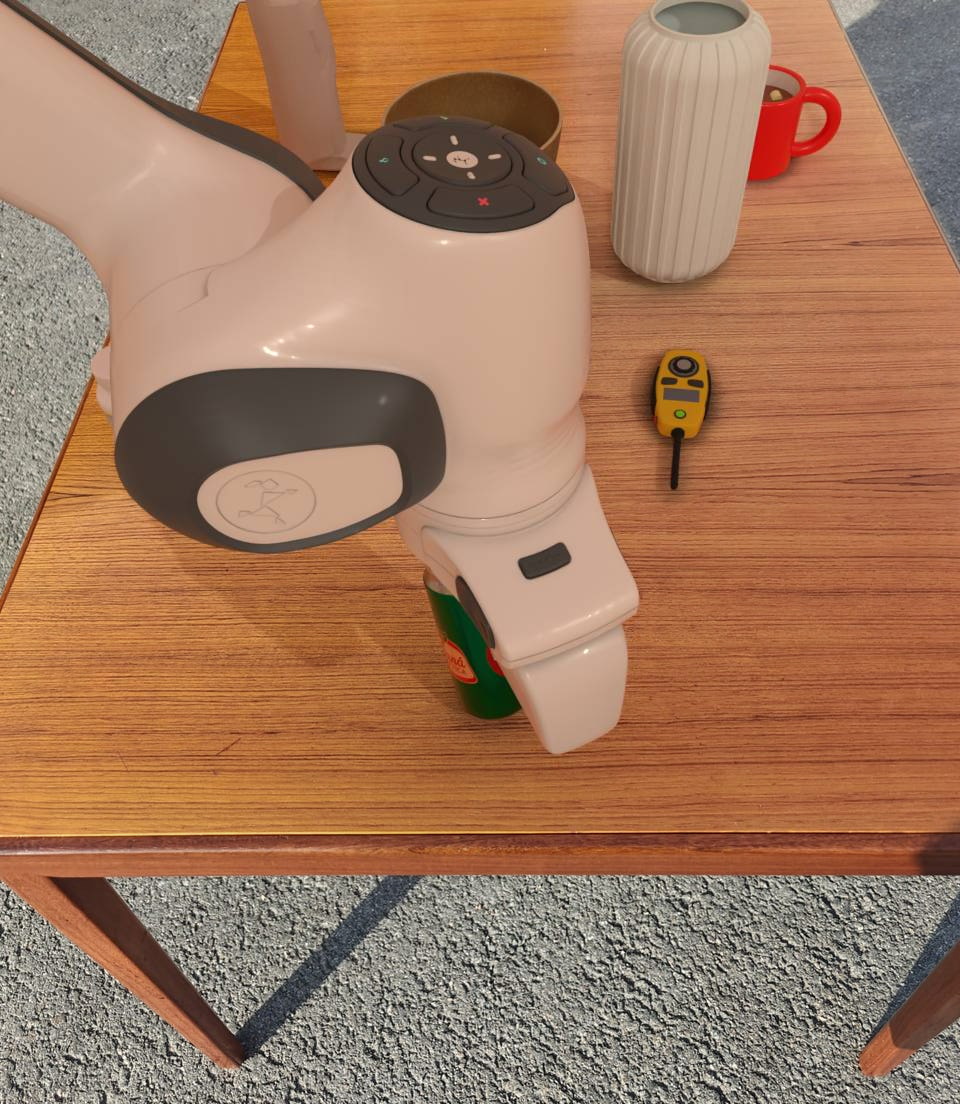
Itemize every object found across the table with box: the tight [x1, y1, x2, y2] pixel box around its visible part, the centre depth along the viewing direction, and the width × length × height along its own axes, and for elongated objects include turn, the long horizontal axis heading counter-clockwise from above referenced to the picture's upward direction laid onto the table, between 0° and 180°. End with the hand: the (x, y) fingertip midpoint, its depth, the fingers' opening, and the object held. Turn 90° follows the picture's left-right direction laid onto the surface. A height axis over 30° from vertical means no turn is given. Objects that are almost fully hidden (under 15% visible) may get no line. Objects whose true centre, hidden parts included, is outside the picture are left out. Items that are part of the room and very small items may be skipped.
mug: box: [747, 64, 843, 181], centre depth 94 cm, size 8×12×8 cm, turn 86°
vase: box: [609, 0, 773, 284], centre depth 79 cm, size 12×12×22 cm
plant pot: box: [380, 69, 564, 164], centre depth 82 cm, size 15×15×16 cm
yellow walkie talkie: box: [650, 349, 712, 491], centre depth 75 cm, size 5×2×15 cm
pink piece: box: [244, 0, 367, 172], centre depth 94 cm, size 7×14×20 cm, turn 81°
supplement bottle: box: [90, 344, 113, 430], centre depth 74 cm, size 5×5×10 cm
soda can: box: [422, 564, 523, 721], centre depth 58 cm, size 5×5×12 cm
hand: (498, 637), depth 53 cm, fingers closed
